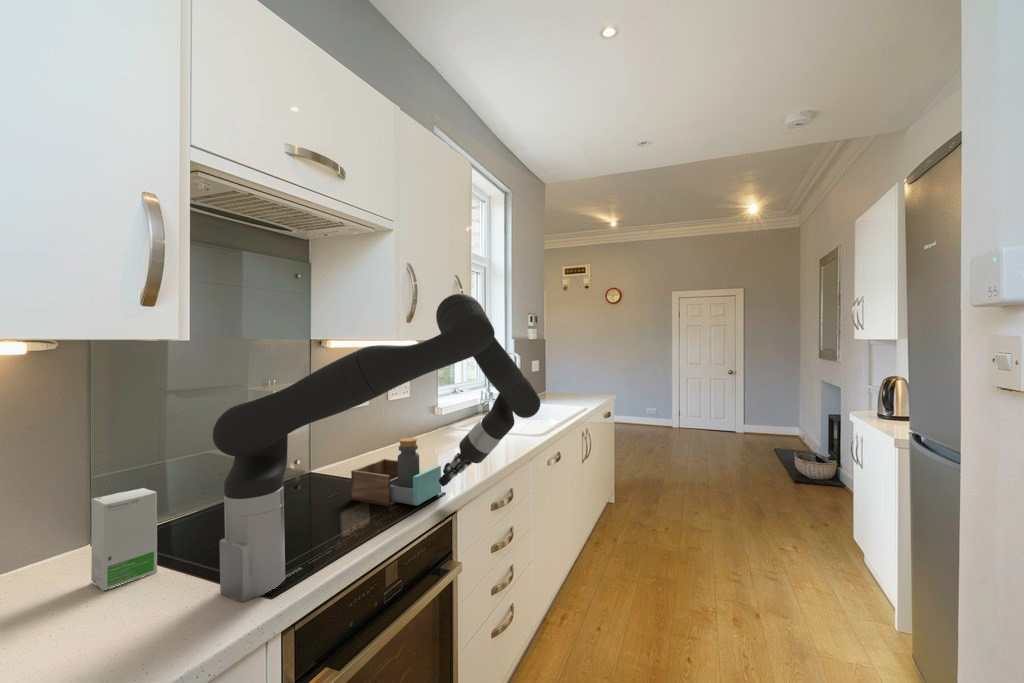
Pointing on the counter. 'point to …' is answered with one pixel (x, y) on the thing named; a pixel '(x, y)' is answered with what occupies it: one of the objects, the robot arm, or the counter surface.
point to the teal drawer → (417, 487)
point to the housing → (374, 482)
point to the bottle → (407, 462)
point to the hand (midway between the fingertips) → (442, 483)
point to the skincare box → (123, 537)
